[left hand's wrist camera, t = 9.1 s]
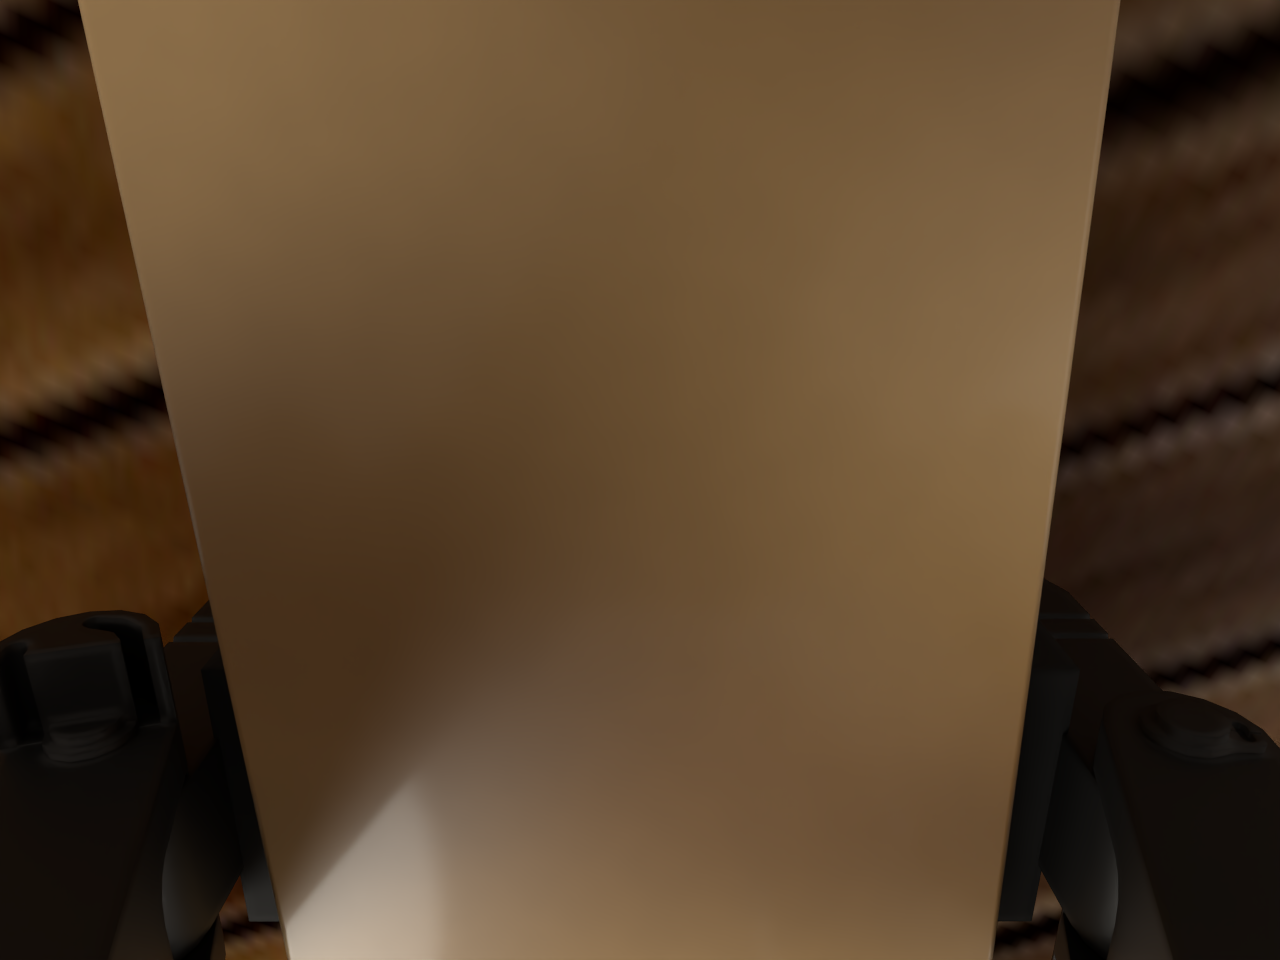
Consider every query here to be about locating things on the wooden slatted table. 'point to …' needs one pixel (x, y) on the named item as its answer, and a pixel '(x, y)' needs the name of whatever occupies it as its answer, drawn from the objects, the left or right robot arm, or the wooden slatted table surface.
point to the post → (618, 449)
